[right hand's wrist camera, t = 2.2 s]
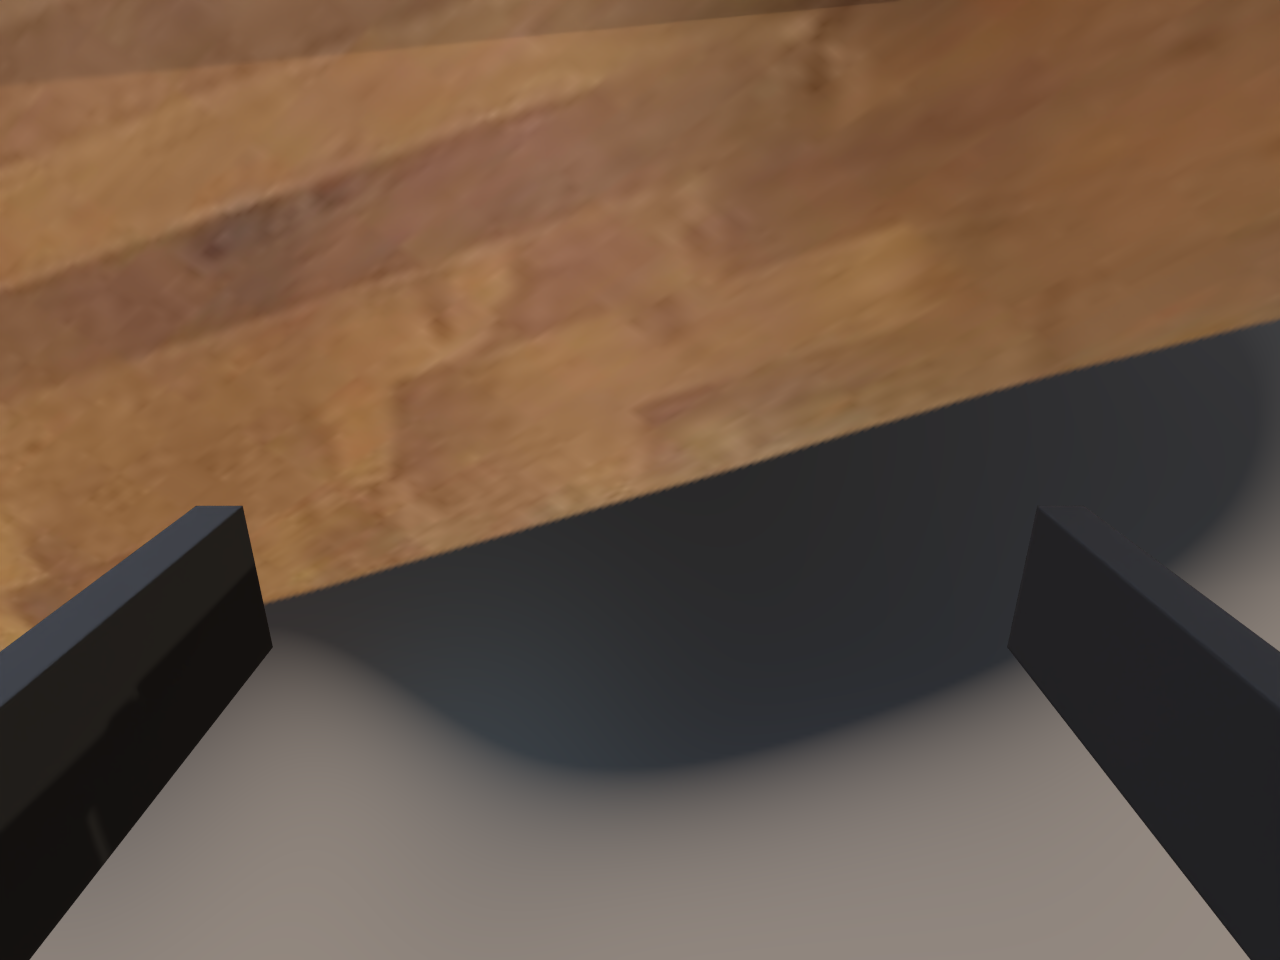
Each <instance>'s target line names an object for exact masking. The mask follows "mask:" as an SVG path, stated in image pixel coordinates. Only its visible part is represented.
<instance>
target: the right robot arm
mask: <svg viewBox="0 0 1280 960" xmlns="http://www.w3.org/2000/svg"><path fill="white" fill-rule="evenodd" d="M272 647H273V646H272V641H271V637H270V632H269V627H268V623H267V618H266V613H265V609H264V604H263V599H262V595H261V590H260V585H259V581H258V576H257V571H256V567H255V562H254V557H253V553H252V548H251V543H250V538H249V534H248V529H247V524H246V520H245V515H244V510H243V506H195V507H194V508H193V509H191V510H190V511H189V512H187V513H186V514H185V515H183V516H182V517H181V518H179V519H178V520H177V521H175V522H174V523H173V524H171V525H170V526H169V527H167V528H166V529H165V530H163V531H162V532H161V533H159V534H158V535H156V536H155V537H154V538H152V539H151V540H150V541H148V542H147V543H146V544H144V545H143V546H142V547H140V548H139V549H138V550H136V551H135V552H134V553H132V554H131V555H130V556H128V557H127V558H126V559H124V560H123V561H122V562H120V563H119V564H118V565H116V566H115V567H114V568H112V569H111V570H109V571H108V572H107V573H105V574H104V575H103V576H101V577H100V578H99V579H97V580H96V581H95V582H93V583H92V584H91V585H89V586H88V587H87V588H85V589H84V590H83V591H81V592H80V593H79V594H77V595H76V596H75V597H73V598H72V599H71V600H69V601H68V602H67V603H65V604H64V605H63V606H61V607H60V608H58V609H57V610H56V611H54V612H53V613H52V614H50V615H49V616H48V617H46V618H45V619H44V620H42V621H41V622H40V623H38V624H37V625H36V626H34V627H33V628H32V629H30V630H29V631H28V632H26V633H25V634H24V635H22V636H21V637H20V638H18V639H17V640H16V641H14V642H13V643H11V644H10V645H9V646H7V647H6V648H5V649H3V650H2V651H1V652H0V960H30V958H31V957H32V956H33V954H34V953H35V952H36V951H37V949H38V948H39V947H40V945H41V944H42V943H43V942H44V940H45V939H46V938H47V936H48V935H49V934H50V933H51V931H52V930H53V929H54V927H55V926H56V925H57V924H58V922H59V921H60V920H61V918H62V917H63V916H64V915H65V913H66V912H67V911H68V909H69V908H70V907H71V906H72V904H73V903H74V902H75V900H76V899H77V898H78V897H79V895H80V894H81V893H82V891H83V890H84V889H85V888H86V886H87V885H88V884H89V882H90V881H91V880H92V879H93V877H94V876H95V875H96V873H97V872H98V871H99V870H100V868H101V867H102V866H103V865H104V863H105V862H106V861H107V859H108V858H109V857H110V856H111V854H112V853H113V852H114V850H115V849H116V848H117V847H118V845H119V844H120V843H121V841H122V840H123V839H124V838H125V836H126V835H127V834H128V832H129V831H130V830H131V828H132V827H133V826H134V825H135V823H136V822H137V821H138V820H139V818H140V817H141V816H142V814H143V813H144V812H145V811H146V809H147V808H148V807H149V805H150V804H151V803H152V802H153V800H154V799H155V798H156V796H157V795H158V794H159V792H160V791H161V790H162V789H163V787H164V786H165V785H166V784H167V782H168V781H169V780H170V778H171V777H172V776H173V774H174V773H175V772H176V771H177V769H178V768H179V767H180V766H181V764H182V763H183V762H184V760H185V759H186V758H187V757H188V755H189V754H190V753H191V751H192V750H193V749H194V747H195V746H196V745H197V744H198V742H199V741H200V740H201V739H202V737H203V736H204V735H205V733H206V732H207V731H208V730H209V728H210V727H211V726H212V724H213V723H214V722H215V721H216V719H217V718H218V717H219V715H220V714H221V713H222V712H223V710H224V709H225V708H226V707H227V705H228V704H229V703H230V701H231V700H232V699H233V697H234V696H235V695H236V694H237V692H238V691H239V690H240V688H241V687H242V686H243V685H244V683H245V682H246V681H247V680H248V678H249V677H250V676H251V674H252V673H253V672H254V671H255V669H256V668H257V667H258V665H259V664H260V663H261V661H262V660H263V659H264V658H265V656H266V655H267V654H268V653H269V651H270V650H271V649H272ZM1007 647H1008V649H1009V650H1010V651H1011V652H1012V654H1013V655H1014V656H1015V658H1016V659H1017V660H1018V662H1019V663H1020V664H1021V665H1022V667H1023V668H1024V669H1025V671H1026V672H1027V673H1028V674H1029V676H1030V677H1031V678H1032V680H1033V681H1034V682H1035V683H1036V685H1037V686H1038V687H1039V689H1040V690H1041V691H1042V692H1043V694H1044V695H1045V696H1046V697H1047V699H1048V700H1049V701H1050V703H1051V704H1052V705H1053V706H1054V708H1055V709H1056V710H1057V712H1058V713H1059V714H1060V715H1061V717H1062V718H1063V719H1064V721H1065V722H1066V723H1067V724H1068V726H1069V727H1070V728H1071V730H1072V731H1073V732H1074V733H1075V735H1076V736H1077V737H1078V739H1079V740H1080V741H1081V742H1082V744H1083V745H1084V746H1085V748H1086V749H1087V750H1088V751H1089V753H1090V754H1091V755H1092V757H1093V758H1094V759H1095V760H1096V762H1097V763H1098V764H1099V766H1100V767H1101V768H1102V769H1103V771H1104V772H1105V773H1106V775H1107V776H1108V777H1109V778H1110V780H1111V781H1112V782H1113V784H1114V785H1115V786H1116V787H1117V789H1118V790H1119V791H1120V793H1121V794H1122V795H1123V796H1124V798H1125V799H1126V800H1127V802H1128V803H1129V804H1130V805H1131V807H1132V808H1133V809H1134V811H1135V812H1136V813H1137V814H1138V816H1139V817H1140V818H1141V820H1142V821H1143V822H1144V823H1145V825H1146V826H1147V827H1148V829H1149V830H1150V831H1151V832H1152V834H1153V835H1154V836H1155V837H1156V839H1157V840H1158V841H1159V843H1160V844H1161V845H1162V846H1163V848H1164V849H1165V850H1166V852H1167V853H1168V854H1169V855H1170V857H1171V858H1172V859H1173V861H1174V862H1175V863H1176V865H1177V866H1178V867H1179V868H1180V870H1181V871H1182V872H1183V874H1184V875H1185V876H1186V877H1187V879H1188V880H1189V881H1190V882H1191V884H1192V885H1193V886H1194V888H1195V889H1196V890H1197V891H1198V893H1199V894H1200V895H1201V897H1202V898H1203V899H1204V900H1205V902H1206V903H1207V904H1208V906H1209V907H1210V908H1211V909H1212V911H1213V912H1214V913H1215V915H1216V916H1217V917H1218V918H1219V920H1220V921H1221V922H1222V924H1223V925H1224V926H1225V927H1226V929H1227V930H1228V931H1229V933H1230V934H1231V935H1232V936H1233V938H1234V939H1235V940H1236V942H1237V943H1238V944H1239V945H1240V947H1241V948H1242V949H1243V951H1244V952H1245V953H1246V954H1247V956H1248V957H1249V958H1250V960H1280V652H1279V651H1278V650H1276V649H1275V648H1274V647H1273V646H1271V645H1270V644H1268V643H1267V642H1266V641H1264V640H1263V639H1262V638H1260V637H1259V636H1258V635H1256V634H1255V633H1254V632H1252V631H1251V630H1250V629H1248V628H1247V627H1246V626H1244V625H1243V624H1242V623H1240V622H1239V621H1238V620H1236V619H1235V618H1234V617H1232V616H1231V615H1230V614H1228V613H1227V612H1226V611H1224V610H1223V609H1222V608H1220V607H1219V606H1217V605H1216V604H1215V603H1213V602H1212V601H1211V600H1209V599H1208V598H1207V597H1205V596H1204V595H1203V594H1201V593H1200V592H1199V591H1197V590H1196V589H1195V588H1193V587H1192V586H1191V585H1189V584H1188V583H1187V582H1185V581H1184V580H1183V579H1181V578H1180V577H1179V576H1177V575H1176V574H1174V573H1173V572H1172V571H1170V570H1169V569H1168V568H1166V567H1165V566H1164V565H1162V564H1161V563H1160V562H1158V561H1157V560H1156V559H1154V558H1153V557H1152V556H1150V555H1149V554H1148V553H1146V552H1145V551H1144V550H1142V549H1141V548H1140V547H1138V546H1137V545H1136V544H1134V543H1133V542H1131V541H1130V540H1129V539H1127V538H1126V537H1125V536H1124V535H1122V534H1121V533H1119V532H1118V531H1117V530H1115V529H1114V528H1113V527H1111V526H1110V525H1109V524H1107V523H1106V522H1105V521H1103V520H1102V519H1101V518H1099V517H1098V516H1097V515H1095V514H1094V513H1093V512H1091V511H1090V510H1089V509H1087V508H1086V507H1085V506H1037V510H1036V515H1035V520H1034V524H1033V529H1032V534H1031V538H1030V543H1029V548H1028V553H1027V557H1026V562H1025V567H1024V571H1023V576H1022V581H1021V585H1020V590H1019V595H1018V599H1017V604H1016V609H1015V613H1014V618H1013V623H1012V627H1011V632H1010V637H1009V641H1008V646H1007Z"/></svg>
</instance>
